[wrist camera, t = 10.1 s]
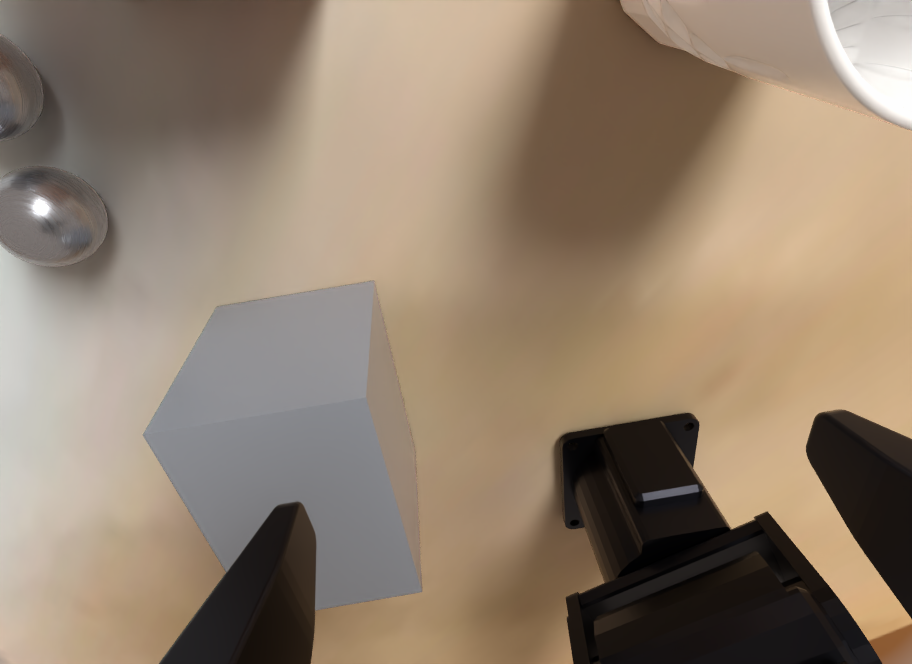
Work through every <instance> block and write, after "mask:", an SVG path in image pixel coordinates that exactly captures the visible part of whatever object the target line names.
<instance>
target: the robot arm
mask: <svg viewBox="0 0 912 664" xmlns="http://www.w3.org/2000/svg"><path fill="white" fill-rule="evenodd" d="M687 423H688V424H687ZM698 431H699V421H698V420H697V419H696V417H695V416H694V415H693V414H691V413H684V414H678V415H672V416H666V417H660V418H654V419H648V420H642V421H637V422H631V423H625V424H619V425H613V426H607V427H601V428H595V429H589V430H583V431H577V432H572V433H568V434H565V435H564V436H563V437H562V438H561V440H560V455H561V479H562V503H563V519H564V522H565V525H566V527H567V528H569V529H577V528H583V527H585V529H586V532H587V535H588V537H589V540H590V543H591V546H592V549H593V551H594V554H595V557H596V560H597V562H598V565H599V568H600V571H601V574H602V576H603V579H604V582H605V583H604V584H602V585H599V586H597V587H595V588H592V589H590V590H588V591H585V592H583V593H580V594H579V593H578V592H577V593H574V594H572V595H570V596H567V597H566V603H567V609H568V617H567V623H568V630H569V637H570V643H571V650H572V657H573V663H574V664H882V662H881V661H880V659H879V657H878V656H877V654H876V652H875V651H874V649H873V648H872V646H871V644H870V643H869V641H868V640H867V638H866V637H865V635H864V634H863V632H862V631H861V629H860V628H859V626H858V625H857V623H856V622H855V620H854V619H853V618H852V616H851V615H850V613H849V612H848V610H847V609H846V608H845V606H844V605H843V604H842V602H841V601H840V600H839V598H838V597H837V596H836V594H835V593H834V592H833V591H832V589H831V588H830V587H829V585H828V584H827V583H826V582H825V581H824V579H823V578H822V577H821V576H820V575H819V573H818V572H817V571H816V570H815V569H814V567H813V566H812V565H811V564H810V562H809V561H808V560H807V559H806V558H805V556H804V555H803V554H802V553H801V552H800V550H799V549H798V548H797V547H796V545H795V544H794V543H793V542H792V541H791V539H790V538H789V537H788V536H787V535H786V533H785V532H784V531H783V530H782V529H781V527H780V526H779V525H778V524H777V522H776V521H775V520H774V519H773V518H772V516H771V515H770V514H769V513H768V512H765V513H762V514H760V515H757V516H755V517H754V519H755V520H752V521H750V522H748V523H745V524H743V525H741V526H738V527H736V528H733V529H731V527H730V526H729V524H728V523H727V521H726V520H725V518H724V516H723V515H722V513H721V512H720V510H719V509H718V507H717V505H716V504H715V502H714V501H713V499H712V497H711V496H710V494H709V493H708V491H707V490H706V488H705V486H704V485H703V483H702V482H701V480H700V479H699V477H698V475H697V474H696V472H695V471H694V469H693V465H694V458H695V451H696V445H697V438H698ZM573 442H574V443H573ZM570 443H573V444H570ZM806 453H807V457H808V459H809V462H810V463H811V465H812V467H813V469H814V470H815V472H816V474H817V475H818V477H819V479H820V481H821V482H822V484H823V486H824V487H825V489H826V491H827V493H828V494H829V496H830V498H831V500H832V501H833V503H834V505H835V506H836V508H837V510H838V512H839V513H840V515H841V517H842V518H843V520H844V522H845V524H846V525H847V527H848V529H849V530H850V532H851V533H852V535H853V537H854V538H855V540H856V541H857V543H858V544H859V546H860V547H861V549H862V550H863V552H864V553H865V554H866V556H867V557H868V559H869V560H870V561H871V563H872V564H873V566H874V567H875V568H876V570H877V571H878V572H879V574H880V575H881V577H882V578H883V579H884V581H885V582H886V584H887V585H888V586H889V588H890V589H891V591H892V592H893V593H894V595H895V596H896V597H897V599H898V600H899V602H900V603H901V604H902V606H903V607H904V609H905V610H906V611H907V613H908V614H909V616H910V617H911V618H912V439H910V438H908V437H906V436H904V435H901V434H899V433H897V432H895V431H892V430H890V429H888V428H885V427H883V426H881V425H879V424H876V423H874V422H872V421H869V420H867V419H865V418H863V417H860V416H858V415H856V414H854V413H851V412H849V411H846V410H833V411H827V412H821V413H819V414H818V415H817V416H816V417H815V419H814V421H813V425H812V428H811V431H810V435H809V438H808V441H807V445H806ZM316 548H317V543H316V534H315V531H314V528H313V526H312V523H311V521H310V519H309V516H308V514H307V512H306V509H305V507H304V505H303V504H302V503H301V502H299V501H295V502H290V503H284V504H279V505H277V506H276V507H275V508H274V509H273V510H272V511H271V513H270V514H269V515H268V517H267V518H266V520H265V521H264V522H263V524H262V525H261V526H260V528H259V529H258V530H257V532H256V533H255V534H254V536H253V537H252V538H251V540H250V541H249V543H248V544H247V545H246V547H245V548H244V549H243V551H242V552H241V553H240V555H239V556H238V557H237V559H236V560H235V561H234V563H233V564H232V565H231V567H230V568H229V570H228V571H227V572H226V574H225V575H224V576H223V578H222V579H221V580H220V582H219V583H218V584H217V586H216V587H215V588H214V590H213V591H212V593H211V594H210V595H209V597H208V598H207V599H206V601H205V602H204V603H203V605H202V606H201V607H200V609H199V610H198V611H197V613H196V614H195V615H194V617H193V618H192V620H191V621H190V622H189V624H188V625H187V626H186V628H185V629H184V630H183V632H182V633H181V634H180V636H179V637H178V638H177V640H176V641H175V643H174V644H173V645H172V647H171V648H170V649H169V651H168V652H167V653H166V655H165V656H164V657H163V659H162V660H161V661H160V663H159V664H311V657H312V649H313V640H314V627H315V591H316Z"/></svg>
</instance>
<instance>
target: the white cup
mask: <svg viewBox="0 0 912 664" xmlns="http://www.w3.org/2000/svg"><path fill="white" fill-rule="evenodd" d="M620 3H621V6H622V8H623V11H624V12H625V13H626V14H627V15H628V16H629V17H630V18H632V19H633V20H634V21H635V22H636V23H637V24H638V25H639V26H640V27H641V28H642V29H643V30H645V31H646V32H647V33H648V34H649V35H650V36H651V37H652V38H653V39H654V40H655V41H657V42H658V43H660V44H663V45H666V46H670V47H674V48H677V49H681V50H685V51H687V52H689V53H690V54H692V55H694V56H696V57H698V58H700V59H701V60H703V61H705V62H707V63H710V64H713V65H716V66H718V67H721V68H724V69H727V70H730V71H733V72H735V73H737V74H739V75H742V76H744V77H747V78H750V79H753V80H756V81H759V82H762V83H766V84H769V85H772V86H775V87H778V88H781V89H784V90H788V91H791V92H794V93H797V94H800V95H803V96H807V97H810V98H813V99H816V100H819V101H822V102H825V103H828V104H832V105H835V106H838V107H841V108H844V109H847V110H850V111H853V112H856V113H859V114H862V115H865V116H868V117H871V118H874V119H877V120H880V121H883V122H886V123H889V124H892V125H895V126H898V127H901V128H904V129H908V130H911V131H912V0H620Z"/></svg>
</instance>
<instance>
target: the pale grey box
mask: <svg viewBox="0 0 912 664" xmlns="http://www.w3.org/2000/svg"><path fill="white" fill-rule="evenodd" d="M143 436H144V438H145V439H146V441H147V443H148V444H149V446H150V448H151V449H152V451H153V453H154V454H155V456H156V458H157V459H158V461H159V463H160V464H161V466H162V467H163V469H164V471H165V472H166V474H167V476H168V477H169V479H170V481H171V482H172V484H173V486H174V487H175V489H176V491H177V492H178V494H179V495H180V497H181V499H182V500H183V502H184V504H185V505H186V507H187V509H188V510H189V512H190V514H191V515H192V517H193V519H194V520H195V522H196V523H197V525H198V527H199V528H200V530H201V532H202V533H203V535H204V537H205V538H206V540H207V542H208V543H209V545H210V546H211V548H212V550H213V551H214V553H215V555H216V556H217V558H218V560H219V561H220V563H221V565H222V566H223V568H224V570H225V571H226V572H227V571H228V570H229V568H230V567H231V565H232V564H233V563H234V561H235V560H236V559H237V557H238V556H239V555H240V553H241V552H242V551H243V549H244V548H245V547H246V545H247V544H248V543H249V541H250V540H251V538H252V537H253V536H254V534H255V533H256V532H257V530H258V529H259V528H260V526H261V525H262V524H263V522H264V521H265V520H266V518H267V517H268V515H269V514H270V513H271V511H272V510H273V509H274V508H275V507H276V506H277V505H279V504H284V503H290V502H295V501H299V502H301V503H302V504H303V505H304V507H305V509H306V512H307V514H308V516H309V519H310V521H311V523H312V526H313V528H314V531H315V534H316V543H317V548H316V591H315V610H320V609H326V608H332V607H338V606H344V605H349V604H355V603H361V602H367V601H373V600H379V599H384V598H390V597H396V596H402V595H408V594H414V593H419V592H422V573H421V552H420V531H419V510H418V488H417V467H416V451H415V446H414V442H413V438H412V434H411V430H410V426H409V422H408V418H407V413H406V409H405V405H404V401H403V397H402V393H401V389H400V385H399V380H398V376H397V372H396V368H395V364H394V360H393V356H392V352H391V347H390V343H389V339H388V335H387V331H386V327H385V323H384V319H383V314H382V310H381V306H380V302H379V298H378V294H377V290H376V286H375V281H369V282H363V283H357V284H351V285H345V286H339V287H333V288H327V289H321V290H315V291H309V292H303V293H297V294H291V295H285V296H279V297H273V298H266V299H260V300H254V301H248V302H242V303H236V304H230V305H224V306H218V307H216V308H215V310H214V312H213V314H212V315H211V317H210V319H209V321H208V322H207V324H206V326H205V328H204V329H203V331H202V333H201V335H200V336H199V338H198V340H197V341H196V343H195V345H194V347H193V348H192V350H191V352H190V354H189V355H188V357H187V359H186V361H185V362H184V364H183V366H182V368H181V369H180V371H179V373H178V375H177V376H176V378H175V380H174V382H173V383H172V385H171V387H170V388H169V390H168V392H167V394H166V395H165V397H164V399H163V401H162V402H161V404H160V406H159V408H158V409H157V411H156V413H155V415H154V416H153V418H152V420H151V422H150V423H149V425H148V427H147V428H146V430H145V432H144V434H143Z"/></svg>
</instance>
